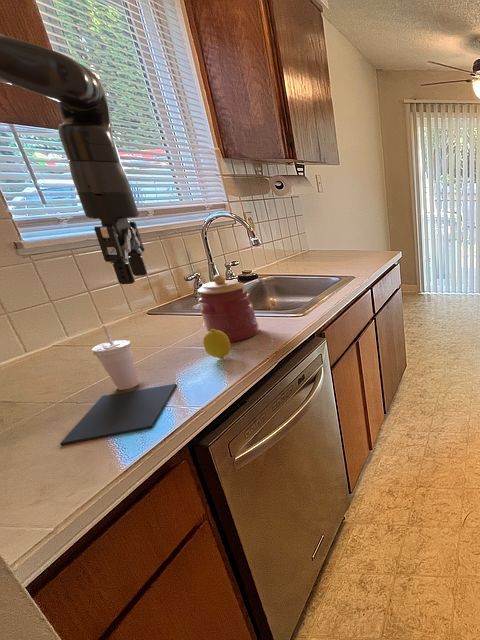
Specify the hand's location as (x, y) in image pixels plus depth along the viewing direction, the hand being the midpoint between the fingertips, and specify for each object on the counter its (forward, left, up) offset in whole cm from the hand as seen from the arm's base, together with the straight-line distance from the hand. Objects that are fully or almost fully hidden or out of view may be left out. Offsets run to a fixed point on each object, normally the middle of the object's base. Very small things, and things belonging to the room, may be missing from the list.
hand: (134, 279), depth 78 cm
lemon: (+8, +12, -24) cm, 28 cm away
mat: (-6, -9, -24) cm, 26 cm away
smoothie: (-9, +4, -24) cm, 26 cm away
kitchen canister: (+9, +30, -24) cm, 39 cm away
